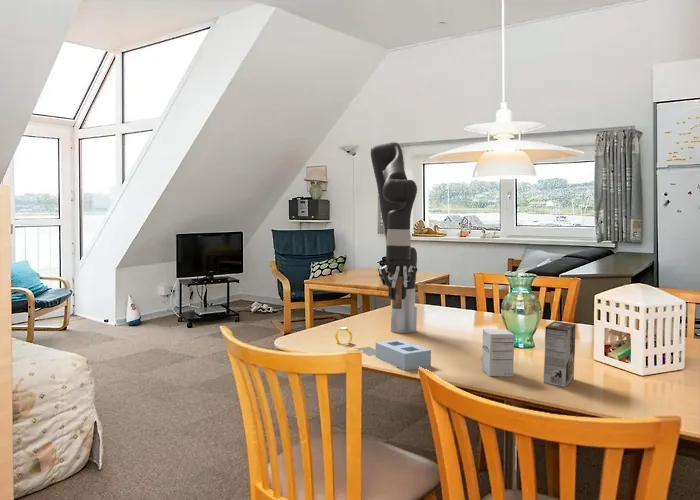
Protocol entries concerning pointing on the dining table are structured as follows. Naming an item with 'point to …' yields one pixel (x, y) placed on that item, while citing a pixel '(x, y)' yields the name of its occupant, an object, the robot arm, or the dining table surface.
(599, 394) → the dining table surface
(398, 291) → the dowel
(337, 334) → the watch
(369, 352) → the mat
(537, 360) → the dining table surface
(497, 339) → the supplement box
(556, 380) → the coffee box
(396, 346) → the hole block
